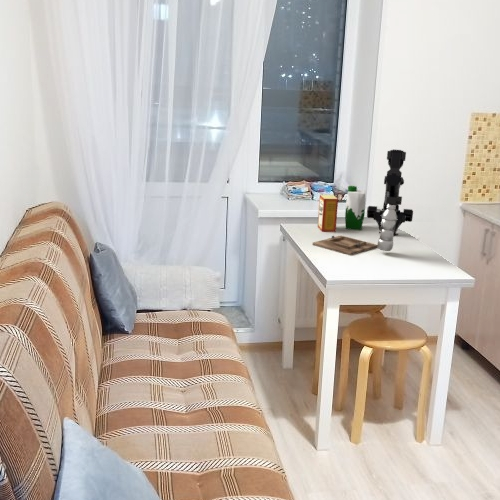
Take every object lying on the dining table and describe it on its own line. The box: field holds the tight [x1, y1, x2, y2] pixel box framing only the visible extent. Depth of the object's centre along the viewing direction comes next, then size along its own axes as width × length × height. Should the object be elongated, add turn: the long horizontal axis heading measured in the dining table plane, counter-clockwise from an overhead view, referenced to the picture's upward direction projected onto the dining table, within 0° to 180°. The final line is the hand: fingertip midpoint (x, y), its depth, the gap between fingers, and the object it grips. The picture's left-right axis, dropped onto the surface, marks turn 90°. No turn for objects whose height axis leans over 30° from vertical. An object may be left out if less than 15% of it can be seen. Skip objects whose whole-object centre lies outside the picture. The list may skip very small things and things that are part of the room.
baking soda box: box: [317, 194, 339, 233], centre depth 311 cm, size 10×6×16 cm
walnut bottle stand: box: [312, 235, 378, 256], centre depth 285 cm, size 20×20×3 cm
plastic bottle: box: [377, 204, 397, 252], centre depth 273 cm, size 6×7×20 cm
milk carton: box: [344, 185, 367, 231], centre depth 315 cm, size 9×9×20 cm
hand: (387, 230), depth 272 cm, fingers closed on plastic bottle, 6 cm apart
